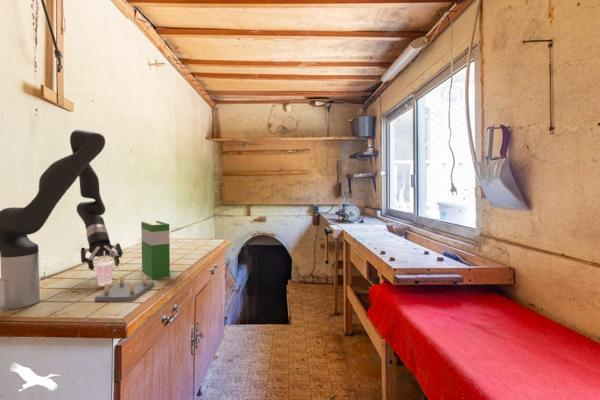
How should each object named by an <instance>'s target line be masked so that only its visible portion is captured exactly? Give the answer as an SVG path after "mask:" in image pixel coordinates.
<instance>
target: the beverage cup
mask: <svg viewBox="0 0 600 400" xmlns="http://www.w3.org/2000/svg"><path fill="white" fill-rule="evenodd" d="M113 265H114V261H112V260H106V256H105V251H104V256H103V261H99V262H97V263H96V262H95V267H96V275H97V276H96V277H97V286H98V287H99V286H100V287H105V284H106V283H109V286H110V285H111V284H112V282H113V281H112V280H113Z"/></svg>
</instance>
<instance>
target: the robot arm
mask: <svg viewBox="0 0 600 400" xmlns="http://www.w3.org/2000/svg"><path fill="white" fill-rule="evenodd" d="M69 143H70V148H71V152H72V154H70V155H67V156H64V157H62V158H60V159H58V160H56V161H53V163H51V165H49V166H48V167H47V168H46V169H45V171H44V172H43V173H42V174H41V175H40V177H39V179H38V180H39V182H38V190H37V191H38V192H37V193H36V196H35V197H34V198H33V199H32V200H31V201H30V202H29V203H28V204H27V205H26V206H25V207H19V206H17V207H7V208H3V209H1V210H0V308H1V309H2V310H4V311H8V310H12V309H13V310H14V309H15V310H16V309H20V308H25V307H30V306H32V305H35V304H37V303H38V302H39V301H41V299H40V297H41V293H40V263H39V262H40V259H39V257H40V256H39V251H40V250H39V245H38V244H37V243H35V242H33V241H32V240H31V239H30V238H29V237H28V235H33V234H36V233H37V232H39V230H41V229H42V228H43V226H44V225H45V223H46V222H47V220H48V219H49V217H50V216H51V214H52V212H53V210H54V209H55V208H56V206H57V204H58V203H60V200H61V199H62V198H63V196H64V195H65V194H66V192H67V191H68V190H69V189H70V188H71V187H72V185H73V184H74V183H75V181H76V180H77V179H78V180H79V189H80V190H79V192H80V196H81V197H82V198H86V199H92V200H94V201H82V202H79V203H78V204H77V205H76V213H77V214H78V216H79V217H80V219H81V220H82V221H83V223H84V226H85V229H86V239H87V242H88V243H87V244H88V248H85V247H81V248H80V261H81V263H82V264H85V263H86V264H87V267H88V270H90V271H94V270H95V266H94V259H95V258H96V257H97V258H100V257H104V251H105V257H106V256H108V257H109V258H113V260H114V261H113V263H114V266H115V267H118V266H119V265H120V263H121V262H120V258H122V257H123V254H124V252H123V249H122V247H121V245H120V243H118V242H117V243H116V244H113V245H112V243H111V239H110V237H109V234H108V233H109V232H108V229H107V227H106V224H105V221H104V218H103V215H104V214H105V212H106V206H105V204H104V202H103V200H102V197H101V193H100V180H99V177H98V174H97V173H96V171H95V170H94V168H93V167H92V165H91V164H90V163H92V161H93V160H94V159H96V158H97V156H98V155H100V154H101V153H102V151H103V150H104V148H105V145H106V139H105V136H104V135H103V134H102V133H99V132H96V131H90V130H84V129H74V130H73V131H72V132H71V134H70V137H69ZM115 251H116V252H115ZM87 253H90V255H89V257H87Z"/></svg>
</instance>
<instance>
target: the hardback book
mask: <svg viewBox="0 0 600 400" xmlns="http://www.w3.org/2000/svg"><path fill="white" fill-rule="evenodd" d="M140 223H141V271H142V272H143V273H144V274H145V276H148V277H149V278H150V279H151V280H157V279H162V278H166V277H170V276H171V269H170V267H171V266H170V264H171V263H170V261H171V259H170V247H171V246H170V223H167V222H163V221H160V220H156V221H155V222H145V221H141V222H140Z"/></svg>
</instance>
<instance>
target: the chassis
mask: <svg viewBox="0 0 600 400" xmlns="http://www.w3.org/2000/svg"><path fill="white" fill-rule="evenodd" d="M147 276H148V275H143V276H142V281H124V279H125V278H124V275H120V276H119V283H118V284H116V285H115V286H112V287H111V288H110V285H109V283H106V284H105V286H104V292H102V293H100V294H98V295H96V296H94V302H132V301H134V300H136V299H137V298H139V297H140V296H142V295H143V294H144V293H146V292H147V291H149V290H150V289H151V288H153V287H154V286H155V281H148V279H147V278H148V277H147ZM148 289H149V290H148Z"/></svg>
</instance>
